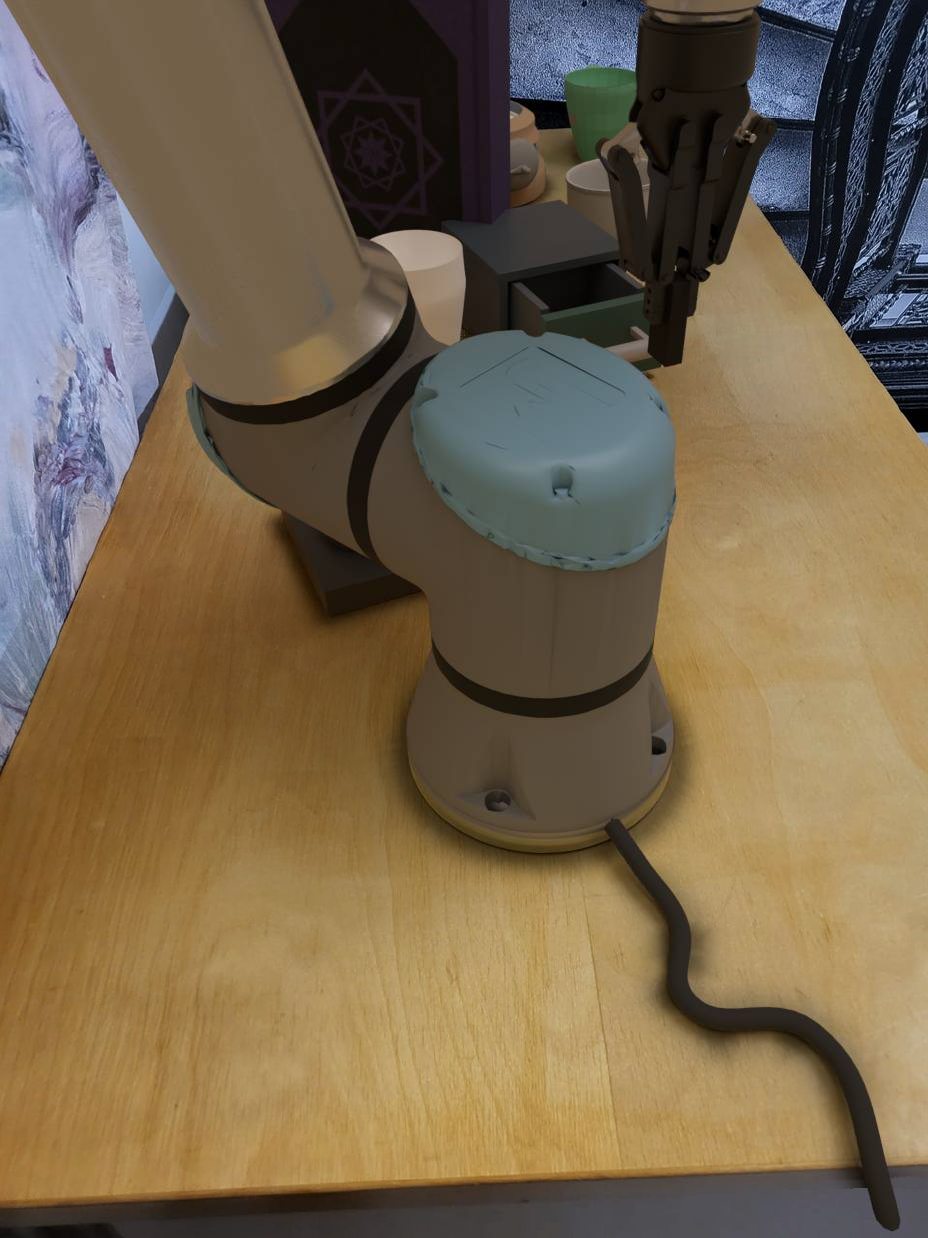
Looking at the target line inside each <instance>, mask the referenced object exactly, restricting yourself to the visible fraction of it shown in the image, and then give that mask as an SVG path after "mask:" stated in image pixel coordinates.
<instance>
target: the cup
mask: <svg viewBox="0 0 928 1238" xmlns="http://www.w3.org/2000/svg"><path fill="white" fill-rule="evenodd" d="M370 240H371V241H374V242H376V243H378V244H380V245H382V246H383V247H385V248H386V249H387V250H389V251H390V252H391V253H392V254H393V255H394V256H395V258H396V259H397V260H398V262H399V264H400V265H401V267H402V269H403V271H404V274H405V276H406V279H407V282H408V285H409V288H410V290H411V293H412V296H413V299H414V301H415V304H416V307H417V310H418V313H419V315H420V318H421V321H422V323H423V326H424V328H425V329H426V331H427V332H428V333H429V334H430V335H431V337H433V338H434V339H435V340H436V341H439V342H441V343H444V344H446V345H449V346H451V345H452V344H454V343H456V342H459V341H461V334H462V333H461V332H462V326H461V324H462V315H463V306H464V296H465V287H466V278H465V271H464V261H463V249H462V244H461V243H460V241H459V240H457V239H456V238H454V237H452V236H450V235H448V234H445V233H441V232H436V231H428V230H405V231H397V232H391V233H387V234H383V235H380V236H377V237H375V238H372V239H370Z"/></svg>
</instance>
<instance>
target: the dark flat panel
mask: <svg viewBox="0 0 928 1238" xmlns="http://www.w3.org/2000/svg"><path fill="white" fill-rule="evenodd" d="M280 512H281V516H282V521H283V523H284V526H285V528H286V530H287V532H288V534H289V537H290V539H291V541H292V543H293V545H294V547H295V549H296V551H297V554H298V556H299V557H300V560H301V562H302V564H303V566H304V568H305V570H306V573H307V574H308V576H309V579H310V581H311V583H312V584H313V587H314V589H315V591H316V593H317V595H318V598H319V599H320V602H321V604H322V607H323V608H324V610H325V612H326V615H327V616H328V618H331V617H334V616H338V615H340V614H345V613H348V612H352V611H354V610H359V609H361V608H366V607H370V606H372V605H377V604H379V603H383V602H386V601H390V600H393V599H396V598H400V597H403V596H407V595H410V594H414V593H417V592H421V591H422V589H421V588H419V587H418V586H416V585H415V584H413V583H411V582H410V581H408V580H406V579H404V578H402V577H401V576H399V575H397V574H395V573H393V572H391V571H390V570H388V569H386V568H384V567H383V566H381V565H379V564H377V563H376V562H374V561H372V560H371V559H369V558H367V557H365V556H364V555H362V554H360V553H358V552H356V551H355V550H353V549H351V548H349V547H348V546H346V545H344V544H342V543H340V542H339V541H337V540H335V539H333V538H332V537H330V536H328V535H326V534H324V533H323V532H321V531H319V530H317V529H316V528H314V527H312V526H310V525H308V524H307V523H305V522H303V521H301V520H300V519H298V518H296V517H294V516H292V515H291V514H289V513H287V512H285V511H283V510H281V511H280Z"/></svg>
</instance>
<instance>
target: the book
mask: <svg viewBox="0 0 928 1238" xmlns="http://www.w3.org/2000/svg"><path fill="white" fill-rule="evenodd" d="M264 2H265V5H266V7H267V10H268V12H269V15H270V18H271V20H272V23H273V25H274V28H275V30H276V33H277V35H278V38H279V40H280V43H281V46H282V48H283V51H284V53H285V56H286V58H287V61H288V63H289V66H290V69H291V71H292V74H293V76H294V79H295V81H296V84H297V86H298V89H299V91H300V94H301V97H302V99H303V102H304V104H305V107H306V109H307V112H308V114H309V117H310V119H311V122H312V125H313V127H314V130H315V132H316V135H317V137H318V140H319V142H320V145H321V147H322V150H323V153H324V155H325V158H326V160H327V163H328V165H329V168H330V170H331V173H332V176H333V178H334V181H335V183H336V186H337V188H338V191H339V193H340V196H341V198H342V201H343V204H344V206H345V209H346V211H347V214H348V216H349V219H350V221H351V224H352V226H353V229H354V232H355V234H356V236H358V237H362V238H365V239H368V240H370V239H372V238H375V237H377V236H380V235H383V234H387V233H391V232H397V231H405V230H428V231H436V232H441V233H442V231H441V222H442V221H447V220H457V221H466V222H475V223H476V222H481V223H484V224H492V223H493V222H494V221H495V220H496V219H497V218H498V217H499V216H500V215H501V214H502V213H503V212H504V211H505V210H506V209H511V208H510V100H511V0H264Z"/></svg>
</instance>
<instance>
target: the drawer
mask: <svg viewBox="0 0 928 1238" xmlns="http://www.w3.org/2000/svg"><path fill="white" fill-rule="evenodd" d="M644 290H645V285H643V284H642V283H641V282H639V280H636V278H635V277H632V276H631V274H629V273H627V272H624V271H623V270H622V269H620V268H619V267H618V266H616V265H615V264H614V263H612V262H611V261H606V262H602V263H597V264H592V265H587V266H582V267H578V268H573V269H568V270H563V271H558V272H553V273H549V274H544V275H539V276H534V277H529V278H524V279H520V280H515V281H510V282H508V331H509V330H523V331H524V332H525V333H526V334H527V335H528V336H531V337H540V336H542V335H543V334H544V333H545V332H551V333H556V334H561V335H566V336H570V337H574V338H578V339H581V340H584V341H587V342H590V343H592V344H595V345H597V346H600V347H602V348H604V349H606V350H608V351H610V352H612V353H614V354H616V355H618V356H619V357H621V358H623V359H624V360H626V361H627V362H629V363H630V364H632V365H633V366H634V367H636V368H637V369H638V370H639V371H640V372H642V373H644V372H648V371H651V370H656V369H660V368H662V364H660V363H659V362H658V361H657V360H656V359H654V358H653V357H652V356H651V355H650V354H648V353H647V350H648V339H649V328H650V322H649V321H648V320H646V319H645V318H644V315H643V301H644Z"/></svg>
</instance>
